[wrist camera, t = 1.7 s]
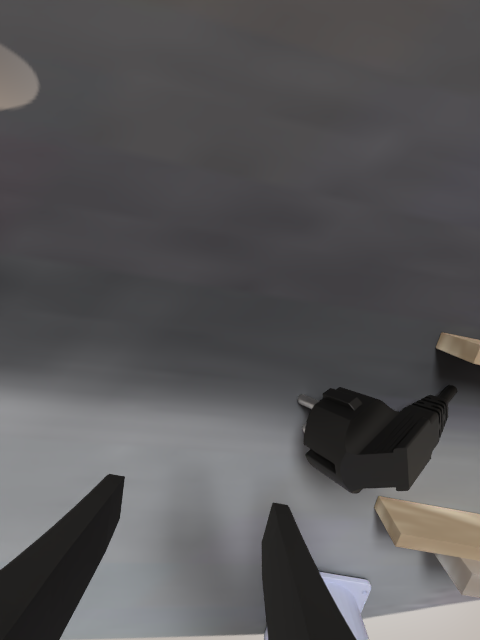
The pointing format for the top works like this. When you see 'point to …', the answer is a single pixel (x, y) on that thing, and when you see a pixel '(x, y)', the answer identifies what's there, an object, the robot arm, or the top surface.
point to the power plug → (372, 438)
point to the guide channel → (440, 511)
